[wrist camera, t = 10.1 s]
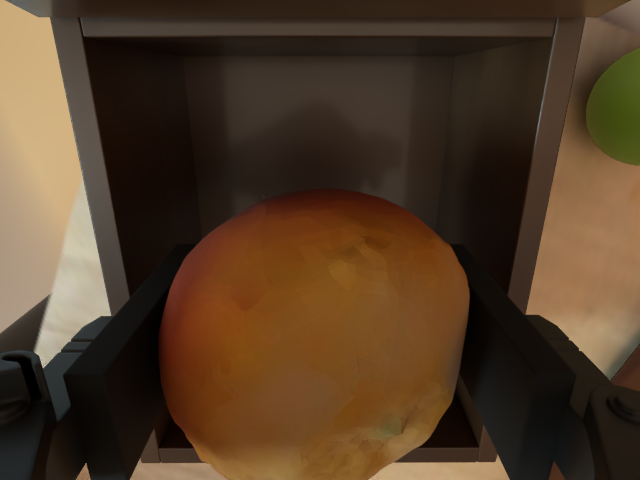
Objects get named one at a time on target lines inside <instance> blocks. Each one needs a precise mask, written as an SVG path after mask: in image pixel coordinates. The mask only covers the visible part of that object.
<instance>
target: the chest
mask: <svg viewBox="0 0 640 480" xmlns="http://www.w3.org/2000/svg"><path fill="white" fill-rule="evenodd" d="M585 18H586V17H50V19H51V24H52V29H53V34H54V39H55V44H56V49H57V53H58V58H59V63H60V68H61V73H62V78H63V83H64V88H65V92H66V97H67V102H68V107H69V112H70V117H71V122H72V126H73V131H74V136H75V141H76V146H77V150H78V156H79V160H80V165H81V170H82V175H83V180H84V185H85V190H86V194H87V199H88V204H89V209H90V214H91V219H92V224H93V229H94V233H95V238H96V243H97V248H98V253H99V258H100V263H101V267H102V272H103V277H104V282H105V287H106V292H107V297H108V301H109V306H110V311H111V316H115V315H116V314H117V312H118V311H119V310H120V309H121V308H122V307H123V306H124V304H125V303H126V302H127V301H128V300H129V299H130V298H131V296H132V295H133V294H134V293H135V292H136V291H137V289H138V288H139V287H140V286H141V285H142V284H143V283H144V281H145V280H146V279H147V278H148V277H149V276H150V275H151V273H152V272H153V271H154V270H155V269H156V268H157V267H158V265H159V264H160V263H161V262H162V261H163V260H164V259H165V257H166V256H167V255H168V254H169V253H170V252H171V251H172V249H173V248H174V247H175V246H176V245H177V244H198V243H199V242H200V241H201V240H202V239H203V238H204V237H206V236H207V235H208V234H209V233H210V232H212V231H213V230H214V229H215V228H217V227H218V226H220V225H222V224H223V223H225V222H226V221H228V220H229V219H231V218H232V217H234V216H235V215H237V214H238V213H239V212H241V211H242V210H244V209H245V208H247V207H249V206H250V205H252V204H253V203H254V202H256V201H258V200H261V199H262V198H263V196H264V197H273V196H277V195H281V194H285V193H289V192H295V191H303V190H310V189H318V188H337V189H345V190H351V191H357V192H362V193H366V194H370V195H373V196H377V197H380V198H383V199H386V200H388V201H390V202H392V203H394V204H396V205H398V206H401V207H403V208H405V209H406V210H408V211H409V212H411V213H412V214H414V215H415V216H416V217H418V218H419V219H420V220H421V221H423V222H424V223H425V224H426V225H427V226H428V227H429V228H431V229H432V230H433V231H434V232H435V233H436V234H437V235H438V236H439V237H440V238H441V239H443V240H444V241H445V242H446V243H448V244H463V245H464V246H465V248H466V249H467V250H468V251H469V252H470V253H471V254H472V256H473V257H474V258H475V259H476V260H477V261H478V262H479V264H480V265H481V266H482V267H483V268H484V269H485V270H486V272H487V273H488V274H489V275H490V276H491V277H492V278H493V280H494V281H495V282H496V283H497V284H498V285H499V286H500V288H501V289H502V290H503V291H504V292H505V293H506V295H507V296H508V297H509V298H510V299H511V300H512V301H513V303H514V304H515V305H516V306H517V307H518V308H519V309H520V311H521V312H522V313H523V314H524V315H525V314H526V309H527V304H528V299H529V295H530V290H531V285H532V280H533V275H534V270H535V265H536V260H537V255H538V250H539V245H540V240H541V235H542V230H543V225H544V220H545V215H546V211H547V206H548V201H549V196H550V191H551V186H552V181H553V176H554V171H555V166H556V161H557V156H558V151H559V146H560V141H561V136H562V131H563V127H564V122H565V117H566V112H567V107H568V102H569V97H570V92H571V87H572V82H573V77H574V72H575V67H576V62H577V57H578V52H579V47H580V43H581V38H582V33H583V28H584V23H585ZM496 458H497V451H496V449H495V447H494V445H493V443H492V441H491V439H490V437H489V435H488V432H487V430H486V428H485V426H484V424H483V422H482V420H481V418H480V416H479V414H478V412H477V409H476V407H475V405H474V403H473V401H472V399H471V397H470V395H469V393H468V391H467V388H466V386H465V384H464V382H463V380H462V378H461V376H460V374H459V375H458V379H457V383H456V388H455V392H454V396H453V399H452V403H451V405H450V406H449V407H448V409H447V410H446V411H445V413H444V414H443V416H442V417H441V419H440V420H439V422H438V424H437V426H436V428H435V430H434V431H433V433H432V435H431V436H430V438H429V439H428V440H427V441H426V442H425V443H423V444H422V445H421V446H419V447H417V448H415V449H413V450H411V451H410V452H408V453H407V454H405V455H404V456H403V457H401V458H400V459H398V460H397V461H395V462H495V461H496ZM141 462H142V463H205V462H203V461H201V460H200V458H199V456H198V454H197V452H196V450H195V449H194V447H193V445H192V444H191V443H190V442H189V440H188V439H187V438H186V435H185V432H184V431H183V430H182V429H181V428H180V427H179V426H178V425H177V424H176V423H175V422H174V420H173V418H172V416H171V414H170V412H169V409H168V406H167V403H166V404H165V407H164V409H163V411H162V413H161V415H160V417H159V419H158V421H157V423H156V425H155V428H154V430H153V432H152V434H151V436H150V438H149V440H148V442H147V444H146V446H145V449H144V451H143V453H142V455H141Z"/></svg>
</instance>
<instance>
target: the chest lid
mask: <svg viewBox="0 0 640 480" xmlns="http://www.w3.org/2000/svg"><path fill="white" fill-rule="evenodd" d="M6 1H8V2H10V3H12V4H14V5H16V6H18V7H19V8H21V9H23V10H25V11H27V12H29V13H31V14H33V15H35V16H37V17H599V16H601V15H603V14H605V13H607V12H609V11H611V10H613V9H615V8H617V7H619V6H620V5H623V4H624V3H626V2H628V1H630V0H6Z"/></svg>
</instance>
